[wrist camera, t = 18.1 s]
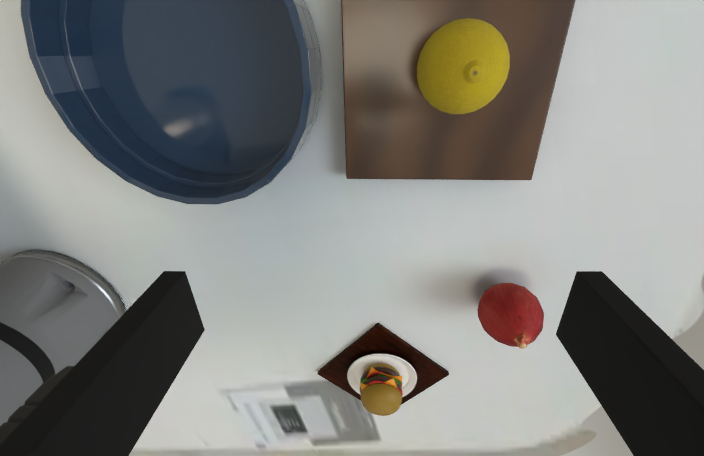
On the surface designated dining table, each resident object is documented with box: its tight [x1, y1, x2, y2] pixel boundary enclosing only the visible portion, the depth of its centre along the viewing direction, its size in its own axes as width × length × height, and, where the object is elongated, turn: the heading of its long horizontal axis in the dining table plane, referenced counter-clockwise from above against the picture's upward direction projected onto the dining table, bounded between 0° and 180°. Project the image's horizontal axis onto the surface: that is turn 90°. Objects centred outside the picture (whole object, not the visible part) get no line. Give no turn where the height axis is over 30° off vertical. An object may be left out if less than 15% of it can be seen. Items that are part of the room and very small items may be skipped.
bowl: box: [21, 0, 322, 204], centre depth 26 cm, size 20×20×5 cm
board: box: [341, 0, 575, 180], centre depth 26 cm, size 16×18×2 cm
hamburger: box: [318, 323, 449, 416], centre depth 41 cm, size 12×12×6 cm
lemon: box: [417, 18, 510, 114], centre depth 22 cm, size 6×6×8 cm
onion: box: [478, 283, 544, 348], centre depth 33 cm, size 6×6×8 cm
